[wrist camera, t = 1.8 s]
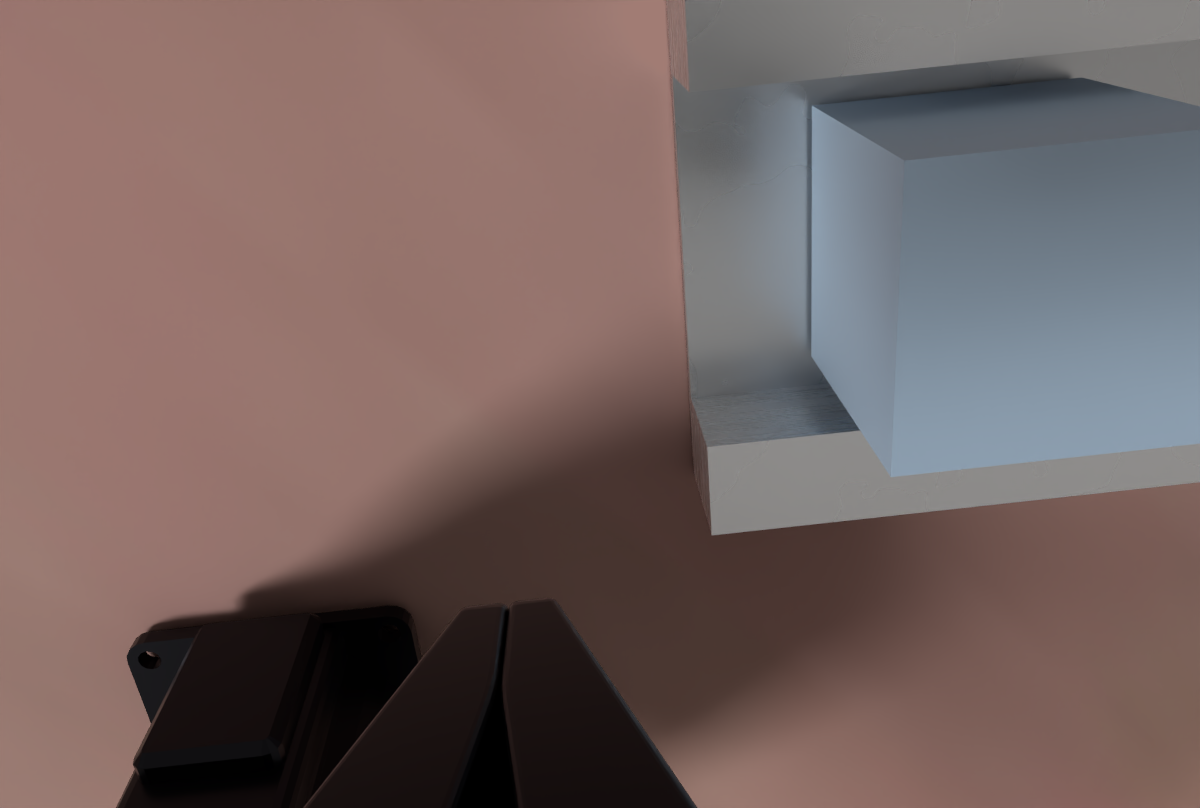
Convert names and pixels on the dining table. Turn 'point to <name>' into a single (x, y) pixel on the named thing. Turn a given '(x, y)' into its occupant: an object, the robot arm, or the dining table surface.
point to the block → (1009, 272)
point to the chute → (784, 229)
